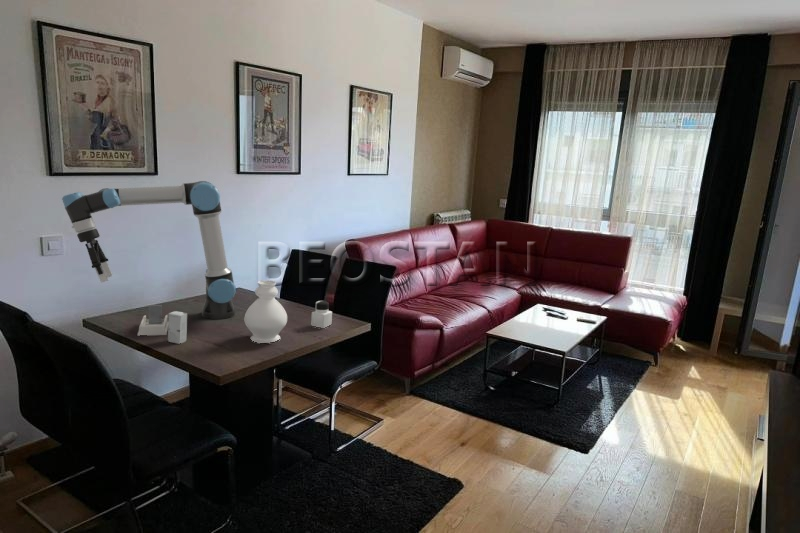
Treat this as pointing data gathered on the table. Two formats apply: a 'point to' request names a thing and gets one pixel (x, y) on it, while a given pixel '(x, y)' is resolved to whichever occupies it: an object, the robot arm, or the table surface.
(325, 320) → the medicine bottle
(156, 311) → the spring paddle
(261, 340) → the decorative vase
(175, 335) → the skincare box
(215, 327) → the table surface
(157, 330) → the white rectangular tray
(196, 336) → the table surface
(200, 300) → the table surface
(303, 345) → the table surface
